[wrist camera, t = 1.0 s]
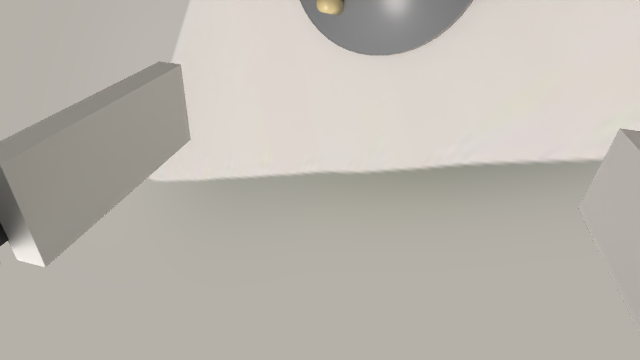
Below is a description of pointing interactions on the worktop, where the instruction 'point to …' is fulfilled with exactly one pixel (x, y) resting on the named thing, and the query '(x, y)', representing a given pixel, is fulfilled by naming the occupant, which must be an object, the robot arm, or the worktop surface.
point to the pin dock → (383, 22)
